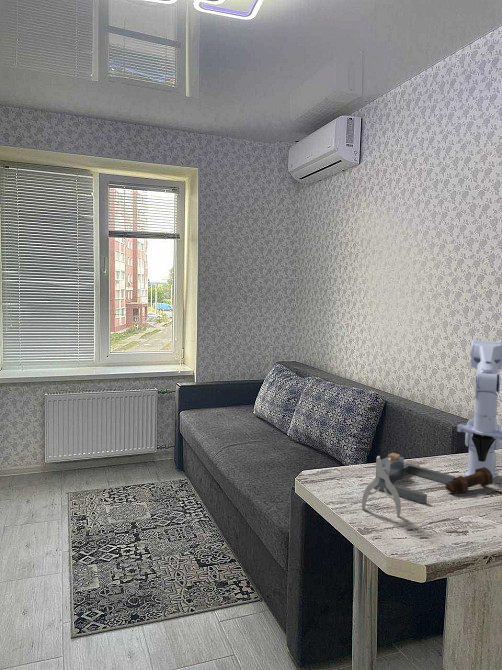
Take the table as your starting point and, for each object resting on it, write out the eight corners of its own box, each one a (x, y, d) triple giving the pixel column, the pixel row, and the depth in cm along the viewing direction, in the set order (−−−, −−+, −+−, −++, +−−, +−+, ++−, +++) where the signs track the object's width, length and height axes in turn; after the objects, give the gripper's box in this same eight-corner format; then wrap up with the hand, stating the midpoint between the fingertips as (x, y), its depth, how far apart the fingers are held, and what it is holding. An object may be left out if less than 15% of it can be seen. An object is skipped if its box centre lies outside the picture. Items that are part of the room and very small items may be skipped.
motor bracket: (399, 468, 167) (400, 447, 166) (454, 484, 155) (456, 461, 154) (365, 485, 152) (367, 462, 151) (424, 504, 140) (425, 479, 139)
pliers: (400, 516, 132) (403, 459, 131) (399, 518, 131) (402, 461, 129) (362, 508, 136) (365, 453, 135) (361, 510, 135) (363, 455, 134)
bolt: (455, 481, 145) (492, 469, 151) (441, 475, 149) (478, 463, 156) (455, 501, 146) (492, 488, 152) (442, 494, 150) (478, 482, 156)
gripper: (454, 412, 149) (451, 457, 151) (507, 422, 139) (504, 470, 141) (463, 408, 154) (460, 452, 156) (515, 417, 144) (512, 464, 146)
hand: (481, 460), depth 148 cm, fingers closed
